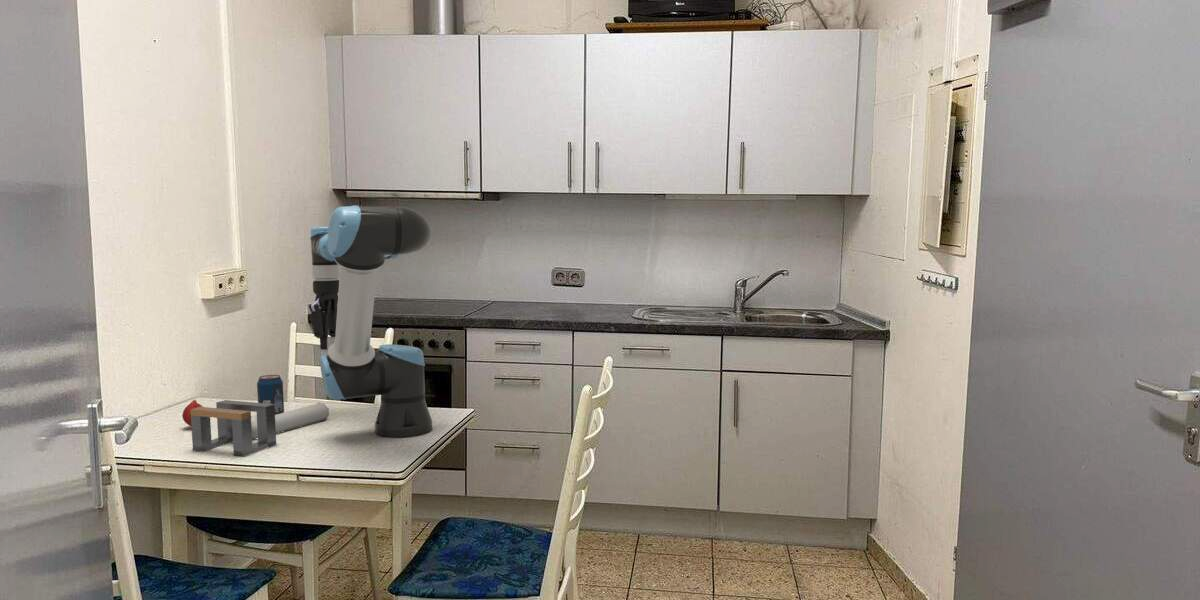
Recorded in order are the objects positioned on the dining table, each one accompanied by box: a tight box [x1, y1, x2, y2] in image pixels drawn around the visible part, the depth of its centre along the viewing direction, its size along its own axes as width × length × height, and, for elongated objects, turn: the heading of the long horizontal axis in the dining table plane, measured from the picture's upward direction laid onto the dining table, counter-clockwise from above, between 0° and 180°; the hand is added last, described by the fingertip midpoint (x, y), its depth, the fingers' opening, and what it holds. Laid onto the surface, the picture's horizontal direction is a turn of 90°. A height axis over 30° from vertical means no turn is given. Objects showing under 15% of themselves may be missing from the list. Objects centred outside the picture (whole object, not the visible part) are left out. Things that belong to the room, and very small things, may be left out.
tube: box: [251, 402, 330, 440], centre depth 217 cm, size 5×5×25 cm
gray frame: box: [190, 399, 277, 457], centre depth 199 cm, size 16×11×10 cm
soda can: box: [256, 374, 285, 415], centre depth 231 cm, size 7×7×12 cm
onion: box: [182, 399, 204, 428], centre depth 219 cm, size 6×6×8 cm
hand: (329, 359), depth 232 cm, fingers open, 2 cm apart
